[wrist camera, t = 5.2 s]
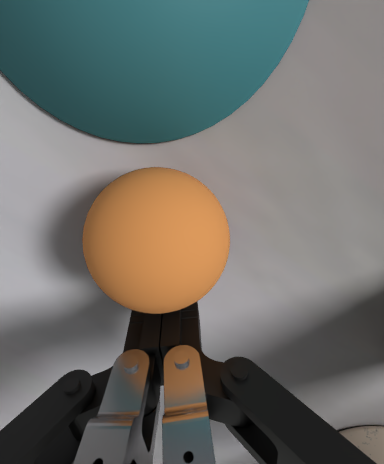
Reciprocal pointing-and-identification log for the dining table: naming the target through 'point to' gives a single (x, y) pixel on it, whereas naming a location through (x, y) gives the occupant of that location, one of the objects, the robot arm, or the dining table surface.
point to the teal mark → (144, 60)
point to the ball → (156, 240)
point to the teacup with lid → (367, 441)
